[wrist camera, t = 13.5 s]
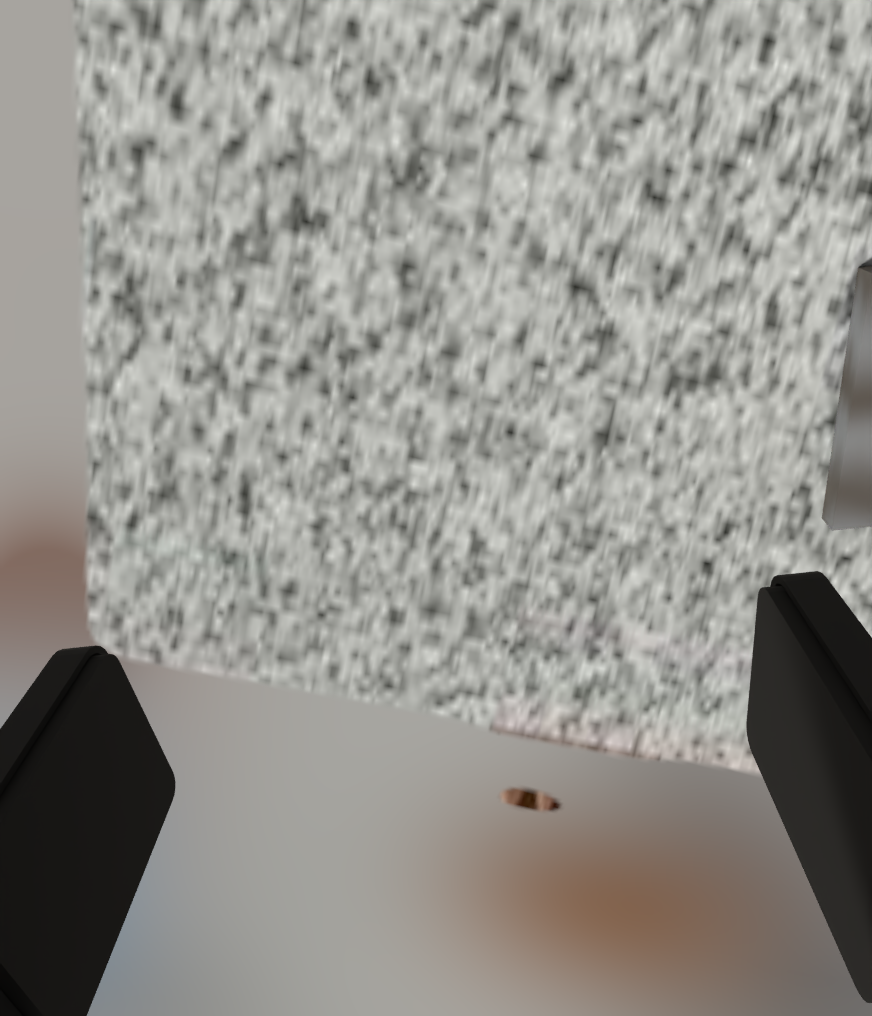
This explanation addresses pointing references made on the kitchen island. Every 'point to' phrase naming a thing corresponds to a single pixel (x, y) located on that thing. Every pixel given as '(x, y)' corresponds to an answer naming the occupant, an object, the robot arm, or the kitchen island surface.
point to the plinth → (854, 422)
